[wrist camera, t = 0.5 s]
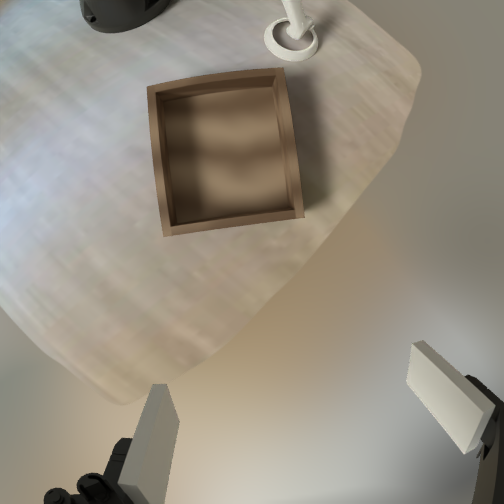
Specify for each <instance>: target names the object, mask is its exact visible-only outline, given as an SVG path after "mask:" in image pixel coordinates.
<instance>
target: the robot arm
mask: <svg viewBox="0 0 504 504" xmlns="http://www.w3.org/2000/svg"><path fill="white" fill-rule="evenodd" d="M79 1H80V6H81V12H82V15H83V18H84V19H85V21H86V22H87V23H88V24H89V25H90V26H91V27H92V28H93V29H94V30H96V31H99V32H103V33H118V32H124V31H127V30H131V29H133V28H136V27H138V26H140V25H142V24H144V23H146V22H148V21H150V20H151V19H153V18H154V17H156V16H157V15H158V14H159V13H161V12H162V11H163V10H164V9H165V8H166V7H167V5H168V4H169V3H170V1H171V0H79ZM406 383H407V384H408V385H409V387H410V388H411V389H412V390H413V392H414V393H415V394H416V395H417V396H418V398H419V399H420V400H421V401H422V402H423V404H424V405H425V406H426V407H427V409H428V410H429V411H430V412H431V414H432V415H433V416H434V417H435V418H436V420H437V421H438V422H439V423H440V425H441V426H442V427H443V428H444V430H445V431H446V432H447V433H448V435H449V436H450V437H451V438H452V440H453V441H454V442H455V443H456V445H457V446H458V447H459V449H460V450H461V451H462V452H463V454H466V453H468V452H469V451H471V450H473V449H474V448H476V447H477V445H478V443H479V441H480V439H481V440H482V442H483V445H482V447H481V449H480V451H479V453H478V454H477V457H476V458H478V457H479V456H480V454H481V456H480V464H479V470H478V476H477V482H476V487H475V492H474V497H473V502H472V504H504V402H503V401H501V400H500V399H499V398H498V397H497V396H496V395H495V394H494V393H493V392H491V391H490V390H489V389H487V387H486V386H485V385H483V383H481V382H480V381H479V380H478V379H477V378H475V377H472V376H470V375H466V376H463V375H462V374H461V373H460V372H459V371H457V370H456V369H455V368H454V367H453V366H452V365H450V363H448V362H447V361H446V360H445V359H444V358H443V357H442V356H441V355H439V354H438V353H437V352H436V351H435V350H434V349H433V348H431V347H430V346H429V345H428V344H427V343H426V342H424V341H423V340H422V341H419V342H416V343H412V348H411V355H410V362H409V369H408V375H407V381H406ZM179 422H180V421H179V418H178V416H177V413H176V410H175V407H174V404H173V401H172V398H171V396H170V392H169V389H168V386H167V384H153V385H152V388H151V390H150V393H149V396H148V398H147V401H146V404H145V406H144V409H143V412H142V415H141V417H140V420H139V423H138V425H137V428H136V431H135V434H134V437H133V438H121V439H120V440H119V441H118V442H117V443H116V444H115V446H114V449H113V451H112V455H111V456H110V459H109V461H108V464H107V467H106V469H105V472H104V474H103V475H100V474H98V473H89V474H86V475H84V476H82V477H81V478H80V479H79V480H78V482H77V490H78V492H79V493H80V494H74V495H70V494H69V493H68V492H67V491H66V490H64V489H62V488H53V489H50V490H49V491H48V492H47V493H46V494H45V496H44V504H164V502H165V496H166V491H167V485H168V480H169V474H170V469H171V463H172V458H173V452H174V448H175V442H176V438H177V433H178V428H179Z"/></svg>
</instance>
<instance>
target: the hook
mask: <svg viewBox="0 0 504 504" xmlns="http://www.w3.org/2000/svg"><path fill="white" fill-rule="evenodd" d="M282 2H283V4H284V7H285V10H286V13H287V16H288V17H286V18H281V19H278V20H276V21H274V22H273V23H271V24H270V25H269V26H268V27H267V29H266V30H265V33H264V41H265V44H266V46H267V48H268V49H269V50H270V51H271V52H272V53H273V54H274V55H276V56H277V57H279V58H281V59H284V60H287V61H302V60H306V59H308V58H310V57H311V56H313V54H314V53H315V52H316V50H317V48H318V39H317V35H316V33H315V31H314V30H313V28H314V26H315V25H313V26H312V22H313V19H312V18H311V17H309V16H305V14H304V11H303V7H302V4H301V1H300V0H282ZM284 21H289V22H290V25H291V26H288V27H287V29H286V31H287V34H288V35H289V36H291V37H292V38H293V39H296V40H299V39H301V37H302V36H303V35H304V33H305V32H306V31H307V30H308V29H309V30H310V32H311V33H312V35H313V42H312V44H311V45H310V46H309V47H308V48H307V49H304V50H300V51H292V50H288V49H285V48H283V47H282V46H280V45H279V44H278V43H277V42H276V41H275V40H274V37H273V34H272V33H273V28H274V26H275V25H276V24H278V23H280V22H284Z"/></svg>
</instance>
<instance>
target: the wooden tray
mask: <svg viewBox="0 0 504 504" xmlns="http://www.w3.org/2000/svg"><path fill="white" fill-rule="evenodd" d="M147 99H148V113H149V126H150V137H151V147H152V157H153V166H154V174H155V182H156V190H157V197H158V204H159V211H160V218H161V224H162V231H163V237H166V236H173V235H179V234H186V233H193V232H200V231H207V230H214V229H221V228H228V227H236V226H243V225H250V224H258V223H266V222H274V221H281V220H289V219H298V218H305V216H304V206H303V198H302V189H301V181H300V173H299V165H298V158H297V150H296V143H295V136H294V129H293V123H292V116H291V110H290V104H289V97H288V91H287V86H286V80H285V74H284V69H283V68H267V69H253V70H243V71H233V72H225V73H217V74H210V75H203V76H197V77H191V78H185V79H180V80H175V81H170V82H165V83H160V84H156V85H152V86H147Z"/></svg>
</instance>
